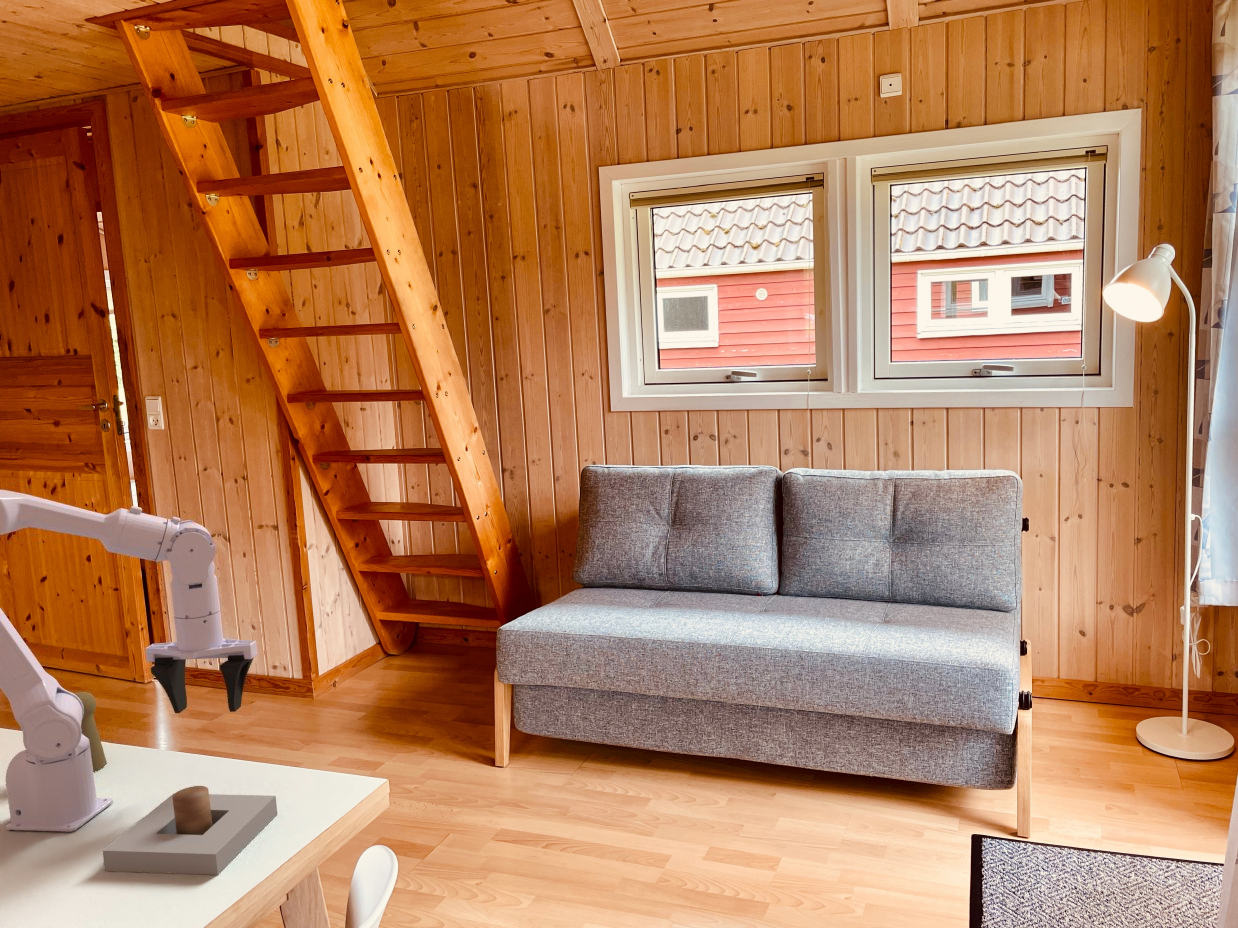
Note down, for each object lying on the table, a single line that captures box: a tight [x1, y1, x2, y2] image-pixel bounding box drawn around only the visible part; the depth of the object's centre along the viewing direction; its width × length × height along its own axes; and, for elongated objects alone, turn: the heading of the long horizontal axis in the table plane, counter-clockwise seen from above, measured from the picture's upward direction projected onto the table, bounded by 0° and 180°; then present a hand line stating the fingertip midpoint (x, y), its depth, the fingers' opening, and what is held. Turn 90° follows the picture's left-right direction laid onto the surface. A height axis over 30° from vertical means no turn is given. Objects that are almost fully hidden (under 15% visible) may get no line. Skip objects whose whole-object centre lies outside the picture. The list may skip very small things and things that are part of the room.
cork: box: [72, 691, 108, 773], centre depth 141 cm, size 6×6×11 cm
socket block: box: [102, 792, 278, 876], centre depth 119 cm, size 14×14×2 cm
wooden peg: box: [172, 785, 213, 835], centre depth 119 cm, size 4×4×6 cm
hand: (208, 709), depth 134 cm, fingers open, 7 cm apart
